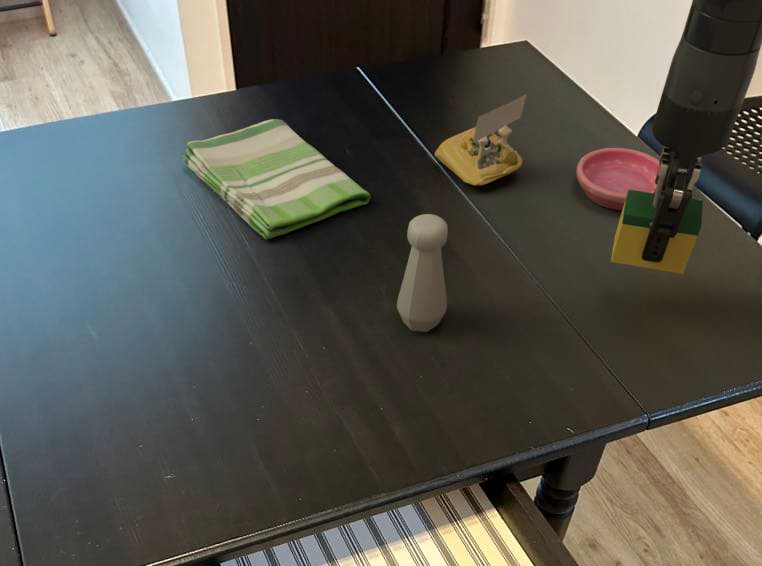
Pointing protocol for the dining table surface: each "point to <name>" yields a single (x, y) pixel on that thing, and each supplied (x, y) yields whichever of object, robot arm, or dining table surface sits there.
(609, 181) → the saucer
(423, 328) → the salt shaker
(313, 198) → the dish towel
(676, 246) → the sponge
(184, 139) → the dining table surface
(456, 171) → the yellow base with figure
